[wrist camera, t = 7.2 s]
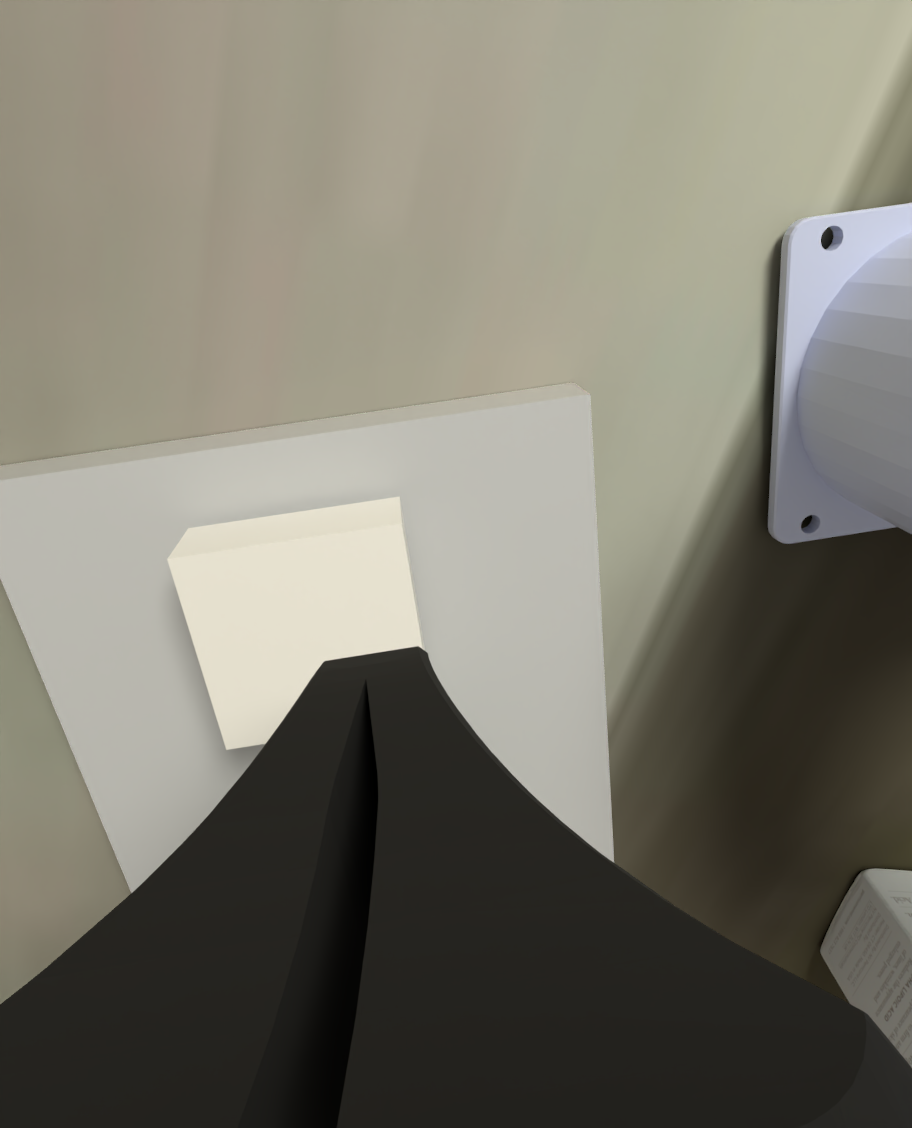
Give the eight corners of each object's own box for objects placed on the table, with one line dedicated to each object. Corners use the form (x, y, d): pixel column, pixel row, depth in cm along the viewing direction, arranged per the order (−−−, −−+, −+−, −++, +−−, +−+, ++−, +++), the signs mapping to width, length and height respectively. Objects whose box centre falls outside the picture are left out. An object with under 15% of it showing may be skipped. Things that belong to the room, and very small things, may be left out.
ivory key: (398, 476, 18) (401, 523, 15) (425, 644, 20) (433, 716, 17) (203, 505, 18) (167, 559, 15) (250, 671, 20) (226, 750, 17)
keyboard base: (573, 382, 18) (590, 393, 17) (609, 987, 27) (622, 1029, 25) (-4, 466, 18) (-39, 485, 16) (227, 1054, 26) (218, 1101, 25)
